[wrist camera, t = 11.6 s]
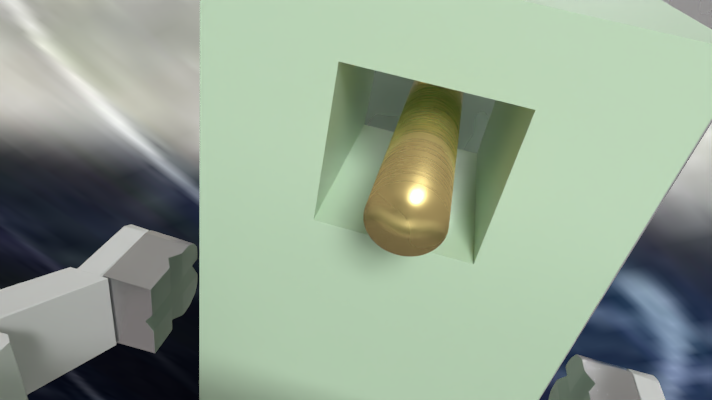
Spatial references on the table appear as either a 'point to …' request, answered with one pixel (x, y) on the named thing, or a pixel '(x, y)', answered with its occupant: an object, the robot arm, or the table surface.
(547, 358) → the board
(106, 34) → the table surface
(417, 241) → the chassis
